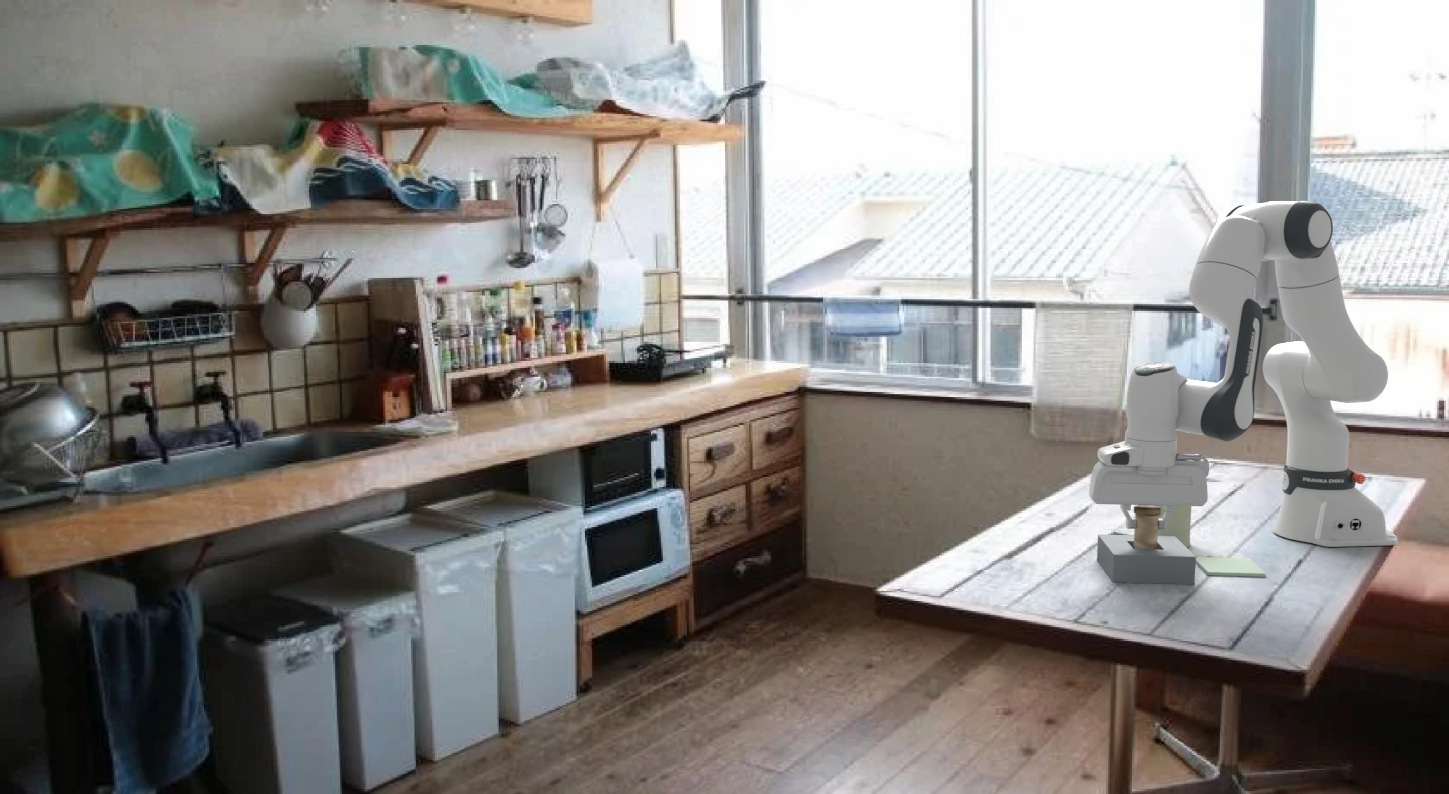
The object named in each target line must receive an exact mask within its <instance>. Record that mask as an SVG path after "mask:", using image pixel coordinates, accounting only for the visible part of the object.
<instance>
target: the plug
mask: <svg viewBox="0 0 1449 794" xmlns="http://www.w3.org/2000/svg"><path fill="white" fill-rule="evenodd" d="M1133 513H1134V515H1135V516H1134V518H1135V519H1136V520H1137V522H1136V529H1133V530H1134V533H1133V534H1134V549H1157V537H1158V519H1159V515H1160V514H1161V508H1160V507H1157V506H1153V505H1133Z"/></svg>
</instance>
